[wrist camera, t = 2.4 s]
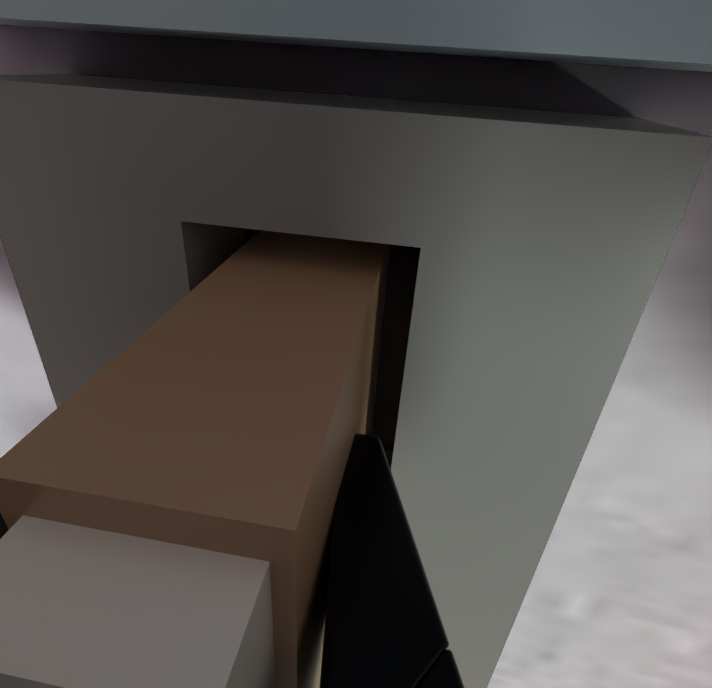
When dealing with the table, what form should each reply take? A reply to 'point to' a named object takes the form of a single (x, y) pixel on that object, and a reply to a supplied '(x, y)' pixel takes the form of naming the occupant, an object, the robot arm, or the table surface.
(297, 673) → the block
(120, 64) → the table surface
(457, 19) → the parts tray
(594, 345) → the block
